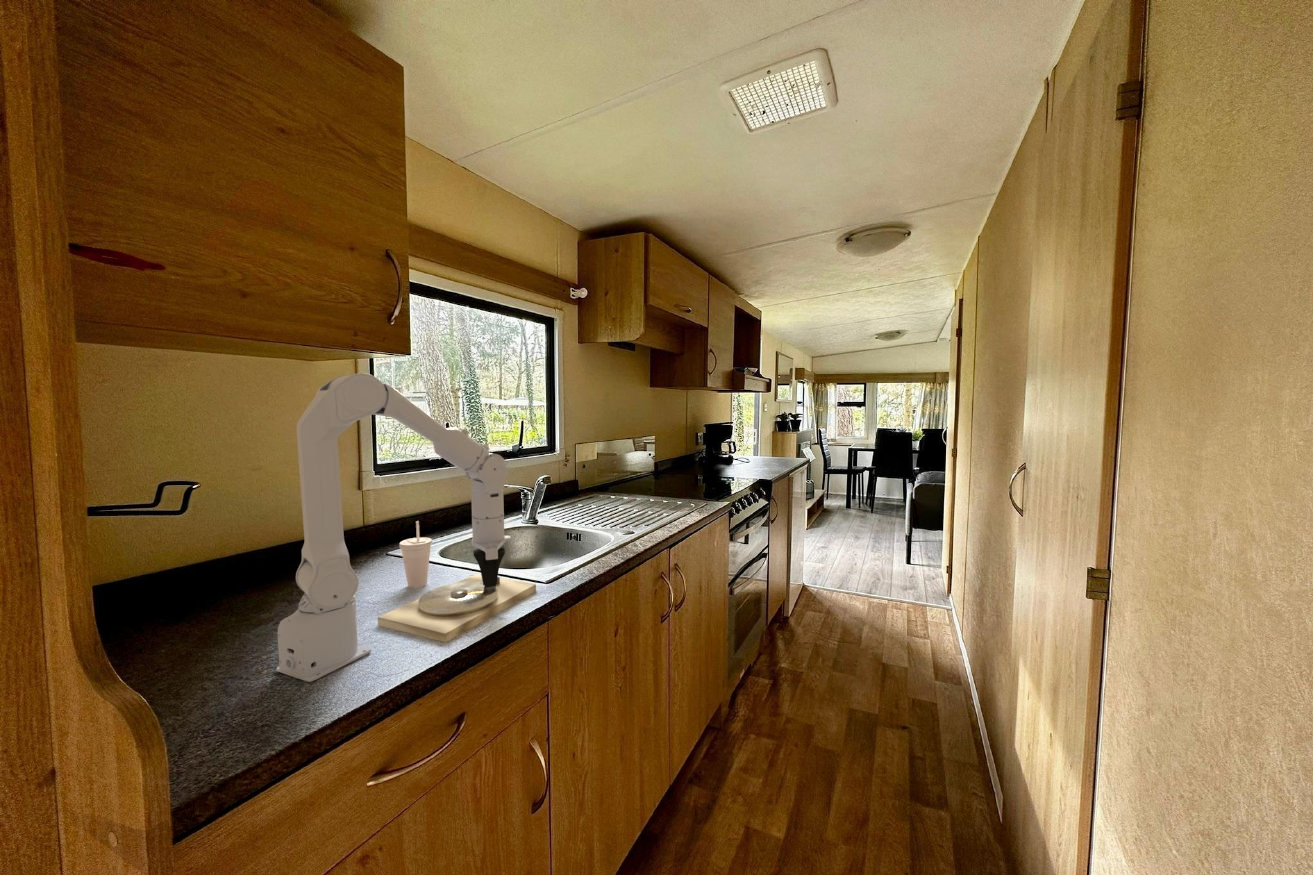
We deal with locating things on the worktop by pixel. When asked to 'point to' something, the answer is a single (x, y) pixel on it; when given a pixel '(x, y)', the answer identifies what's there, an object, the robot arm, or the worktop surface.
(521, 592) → the stand plate
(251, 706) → the worktop surface
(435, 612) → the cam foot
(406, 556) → the smoothie
